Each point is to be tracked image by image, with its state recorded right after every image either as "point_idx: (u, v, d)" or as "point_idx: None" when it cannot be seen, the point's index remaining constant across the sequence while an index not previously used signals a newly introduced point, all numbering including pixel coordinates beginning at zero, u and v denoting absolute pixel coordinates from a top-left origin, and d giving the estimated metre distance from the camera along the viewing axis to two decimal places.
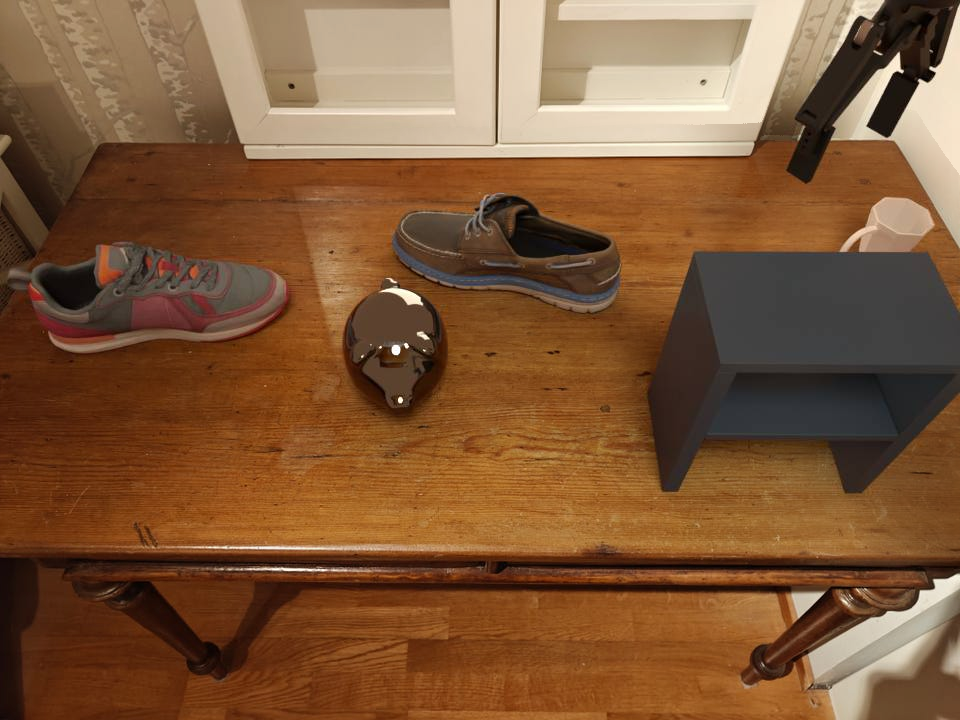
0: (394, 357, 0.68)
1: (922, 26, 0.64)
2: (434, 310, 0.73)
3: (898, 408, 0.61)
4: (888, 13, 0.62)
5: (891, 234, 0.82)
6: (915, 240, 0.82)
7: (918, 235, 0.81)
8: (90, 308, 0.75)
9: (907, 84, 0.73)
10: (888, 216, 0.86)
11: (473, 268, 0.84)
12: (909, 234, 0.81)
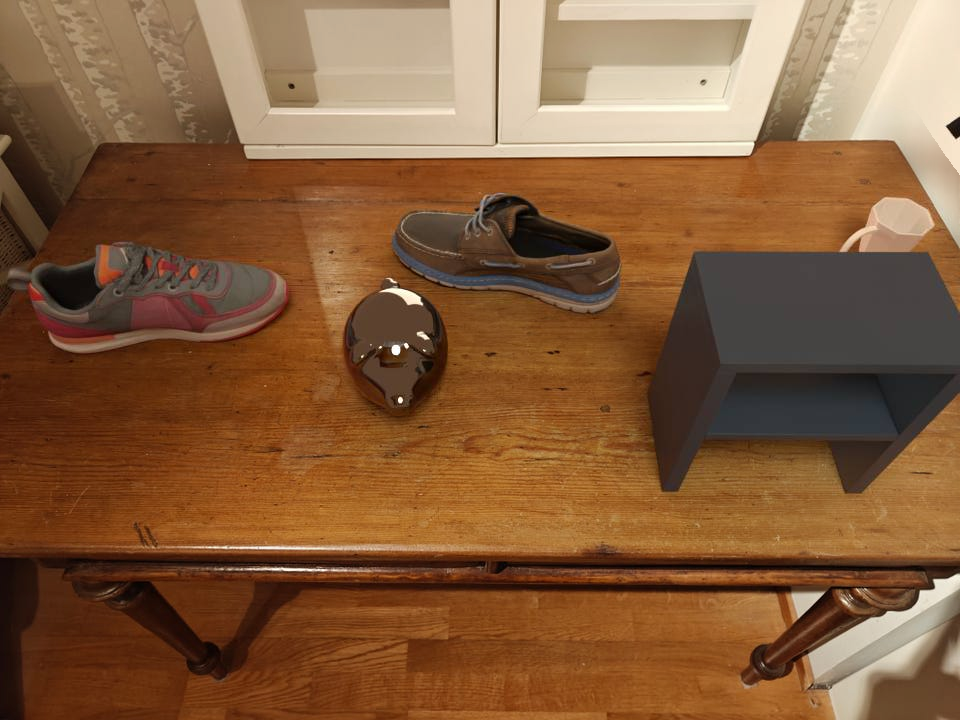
0: (394, 357, 0.68)
1: None
2: (434, 310, 0.73)
3: (898, 408, 0.61)
4: None
5: (891, 234, 0.82)
6: (915, 240, 0.82)
7: (918, 235, 0.81)
8: (90, 308, 0.75)
9: None
10: (888, 216, 0.86)
11: (473, 268, 0.84)
12: (909, 234, 0.81)
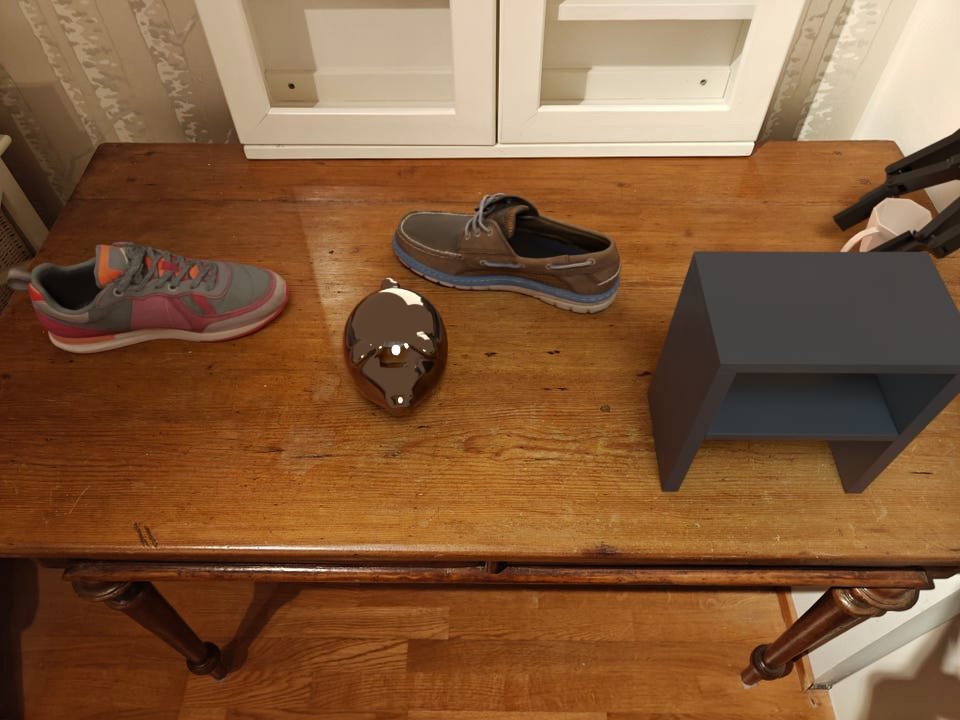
0: (394, 357, 0.68)
1: None
2: (434, 310, 0.73)
3: (898, 408, 0.61)
4: None
5: (892, 236, 0.82)
6: None
7: None
8: (90, 308, 0.75)
9: None
10: (890, 216, 0.86)
11: (473, 268, 0.84)
12: None
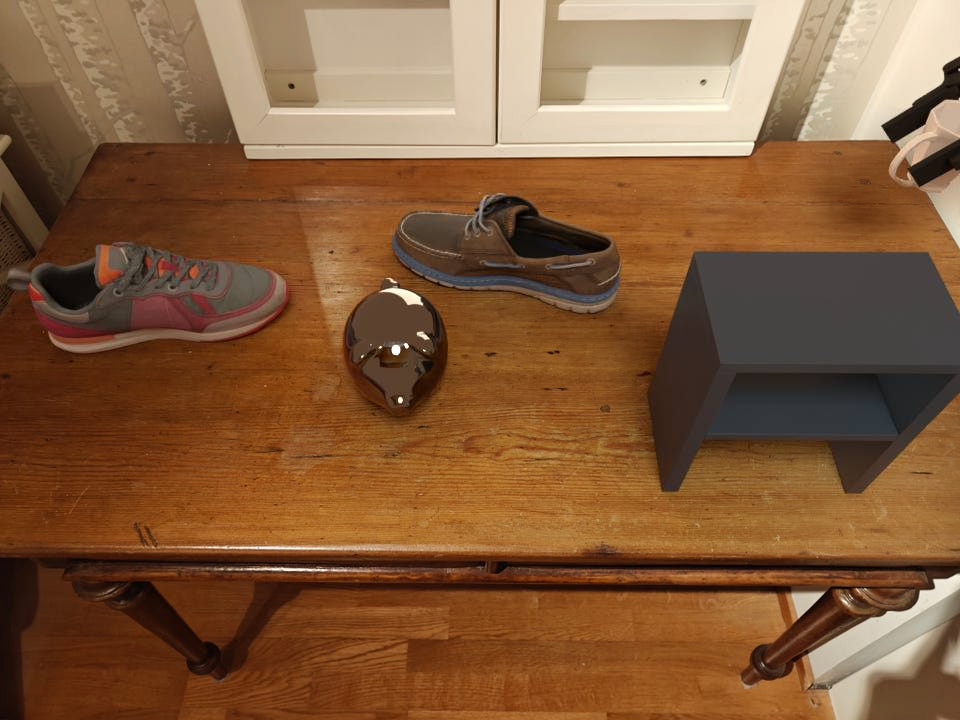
0: (394, 357, 0.68)
1: None
2: (434, 310, 0.73)
3: (898, 408, 0.61)
4: None
5: (954, 140, 0.71)
6: None
7: None
8: (90, 308, 0.75)
9: None
10: (948, 122, 0.75)
11: (473, 268, 0.84)
12: None
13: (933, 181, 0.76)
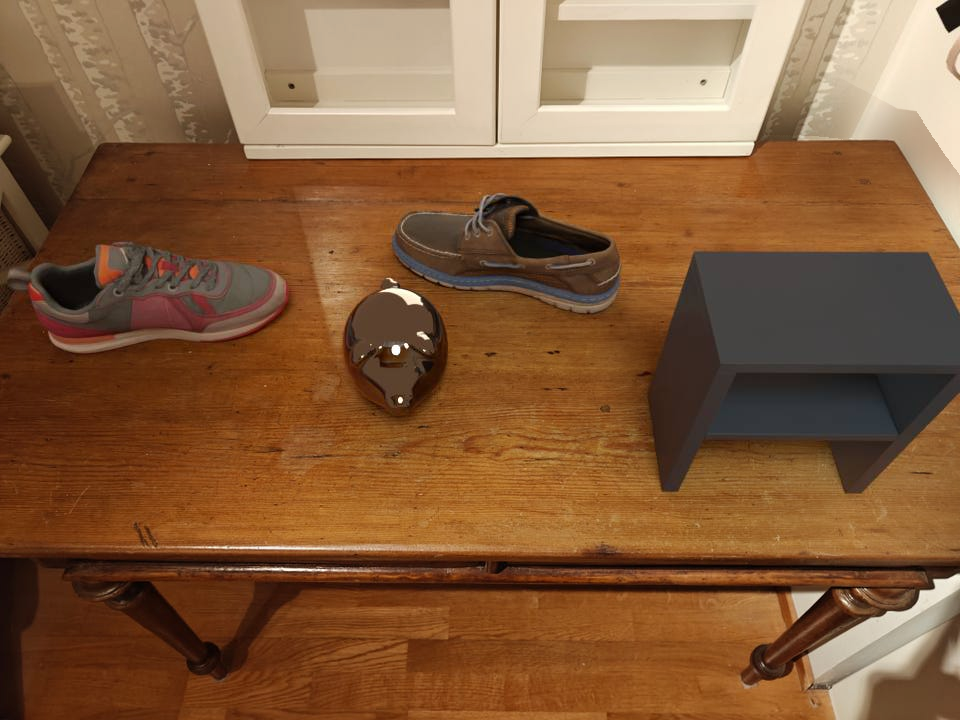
0: (394, 357, 0.68)
1: None
2: (434, 310, 0.73)
3: (898, 408, 0.61)
4: None
5: None
6: None
7: None
8: (90, 308, 0.75)
9: None
10: None
11: (473, 269, 0.84)
12: None
13: None
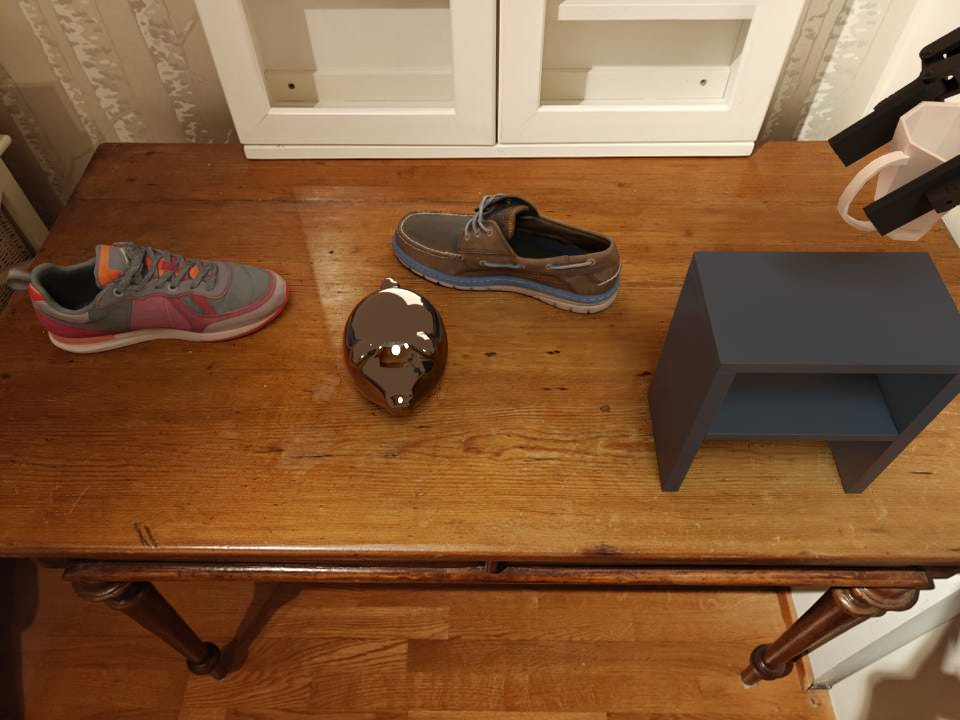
0: (394, 357, 0.68)
1: None
2: (434, 310, 0.73)
3: (898, 408, 0.61)
4: None
5: (935, 164, 0.45)
6: None
7: None
8: (90, 308, 0.75)
9: None
10: (928, 136, 0.49)
11: (473, 269, 0.84)
12: None
13: (905, 225, 0.50)
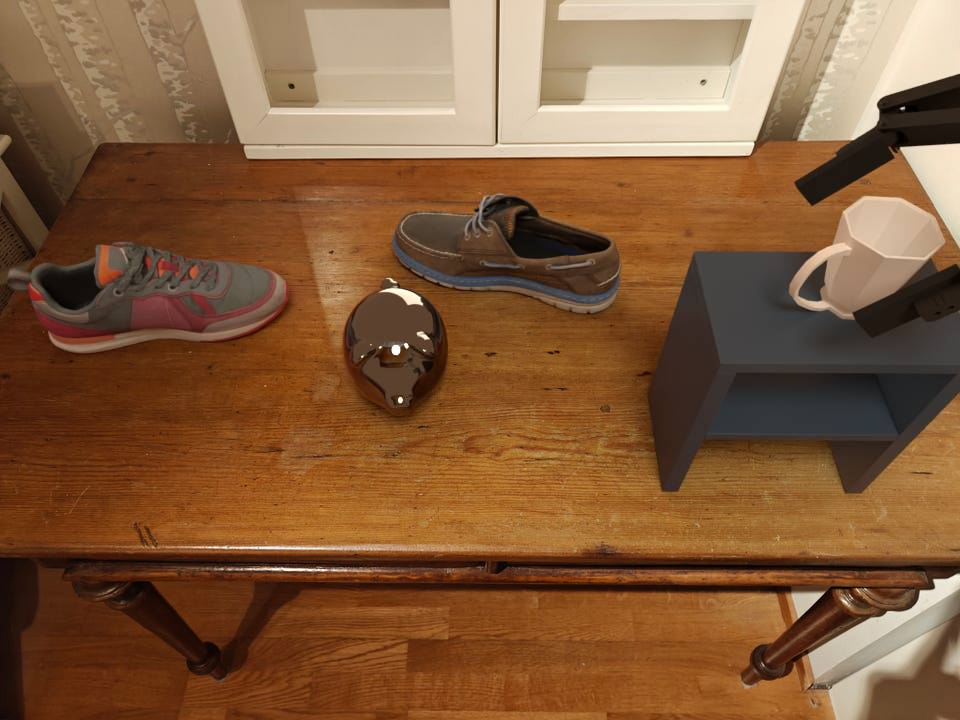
0: (394, 357, 0.68)
1: None
2: (434, 310, 0.73)
3: (898, 408, 0.61)
4: None
5: (874, 257, 0.49)
6: (913, 267, 0.49)
7: (918, 259, 0.48)
8: (90, 308, 0.75)
9: None
10: (870, 226, 0.54)
11: (473, 269, 0.84)
12: (903, 258, 0.48)
13: (852, 306, 0.54)
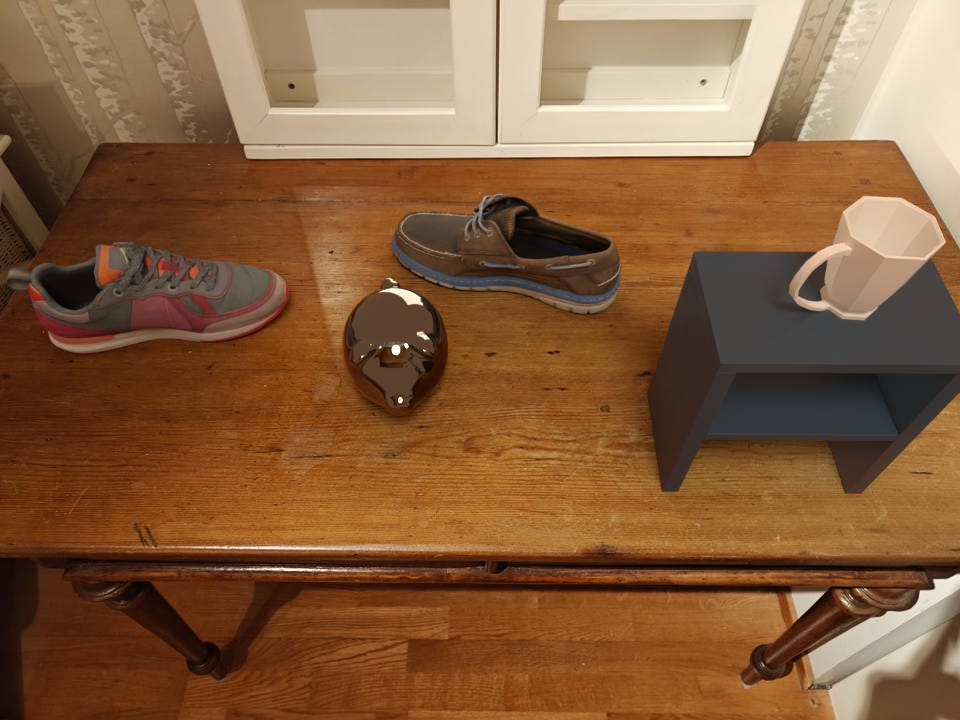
0: (394, 357, 0.68)
1: None
2: (434, 310, 0.73)
3: (898, 408, 0.61)
4: None
5: (874, 257, 0.49)
6: (913, 267, 0.49)
7: (918, 259, 0.48)
8: (90, 308, 0.75)
9: None
10: (870, 226, 0.54)
11: (473, 269, 0.84)
12: (903, 258, 0.48)
13: (852, 306, 0.54)
